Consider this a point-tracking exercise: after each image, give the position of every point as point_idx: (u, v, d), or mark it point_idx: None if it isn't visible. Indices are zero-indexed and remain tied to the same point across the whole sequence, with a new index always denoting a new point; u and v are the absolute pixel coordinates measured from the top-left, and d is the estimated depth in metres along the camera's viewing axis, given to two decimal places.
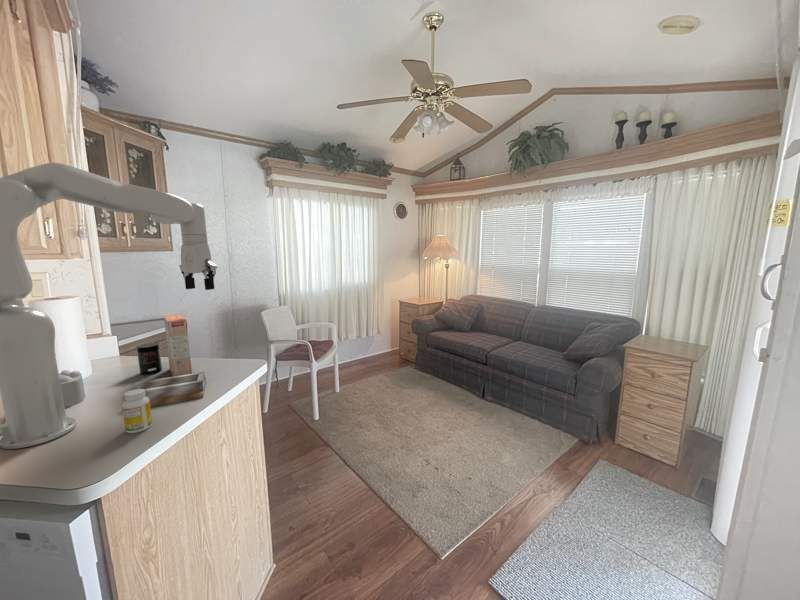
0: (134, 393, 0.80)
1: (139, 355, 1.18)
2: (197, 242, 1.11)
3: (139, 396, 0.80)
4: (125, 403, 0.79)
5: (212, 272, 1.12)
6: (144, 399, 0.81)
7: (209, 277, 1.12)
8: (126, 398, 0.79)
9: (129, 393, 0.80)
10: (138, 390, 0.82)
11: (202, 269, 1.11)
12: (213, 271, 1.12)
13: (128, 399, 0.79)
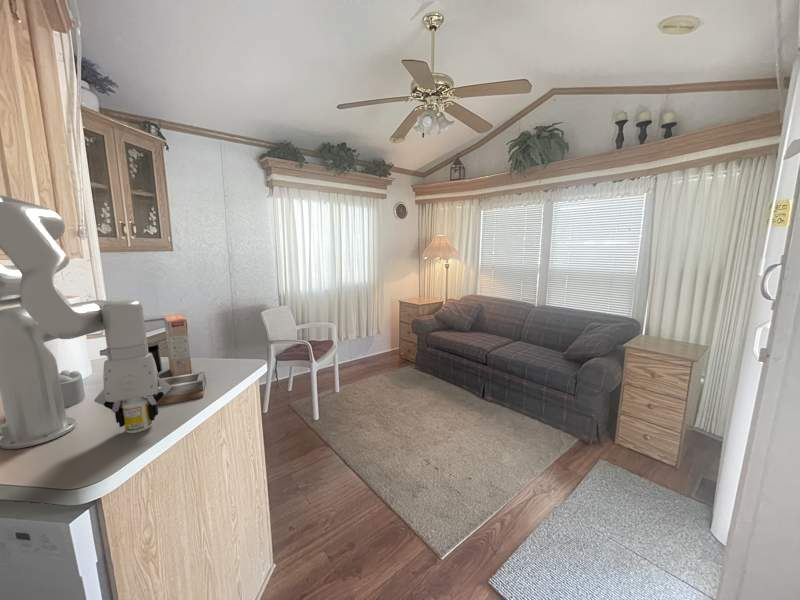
0: None
1: None
2: (144, 354, 0.80)
3: None
4: (125, 403, 0.79)
5: (162, 395, 0.83)
6: (144, 399, 0.81)
7: (156, 402, 0.83)
8: None
9: None
10: None
11: (157, 389, 0.81)
12: None
13: None
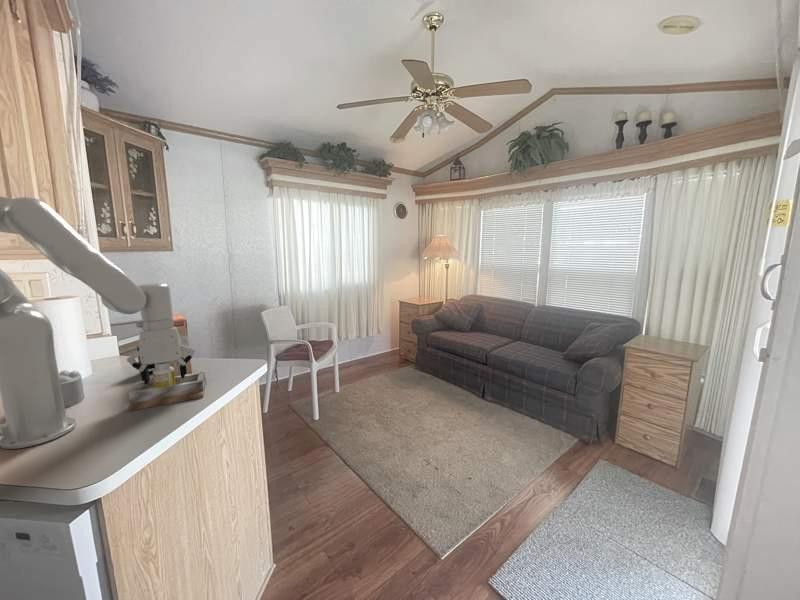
0: (162, 363, 0.98)
1: None
2: (171, 327, 0.98)
3: (166, 365, 0.99)
4: (155, 370, 0.98)
5: (191, 357, 1.03)
6: (170, 368, 1.00)
7: (186, 363, 1.02)
8: (156, 366, 0.98)
9: (158, 363, 0.98)
10: None
11: (181, 356, 1.00)
12: None
13: (158, 367, 0.98)
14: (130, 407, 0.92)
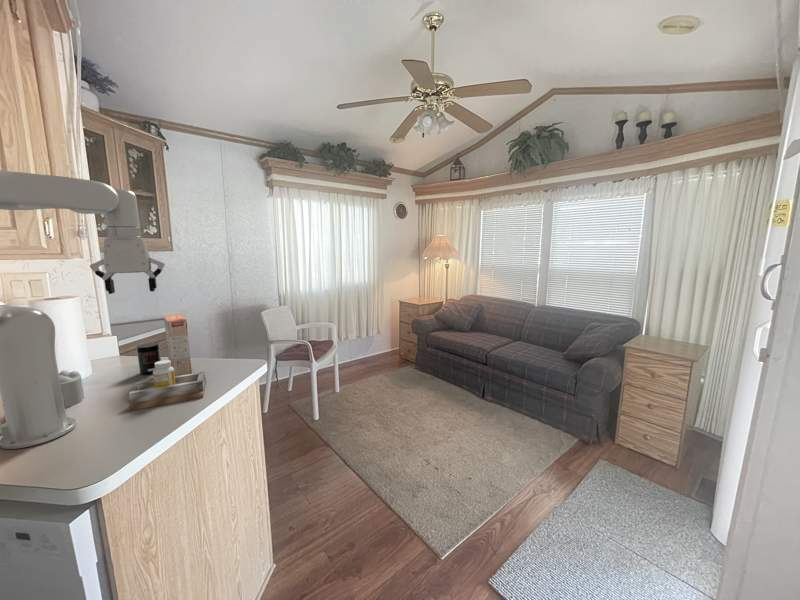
0: (162, 363, 0.98)
1: (139, 355, 1.18)
2: (137, 236, 0.95)
3: (166, 365, 0.99)
4: (155, 370, 0.98)
5: (160, 271, 1.00)
6: (170, 368, 1.00)
7: (155, 276, 0.99)
8: (156, 366, 0.98)
9: (158, 363, 0.98)
10: (165, 361, 1.00)
11: (148, 267, 0.97)
12: (161, 269, 1.00)
13: (158, 367, 0.98)
14: (130, 407, 0.92)
